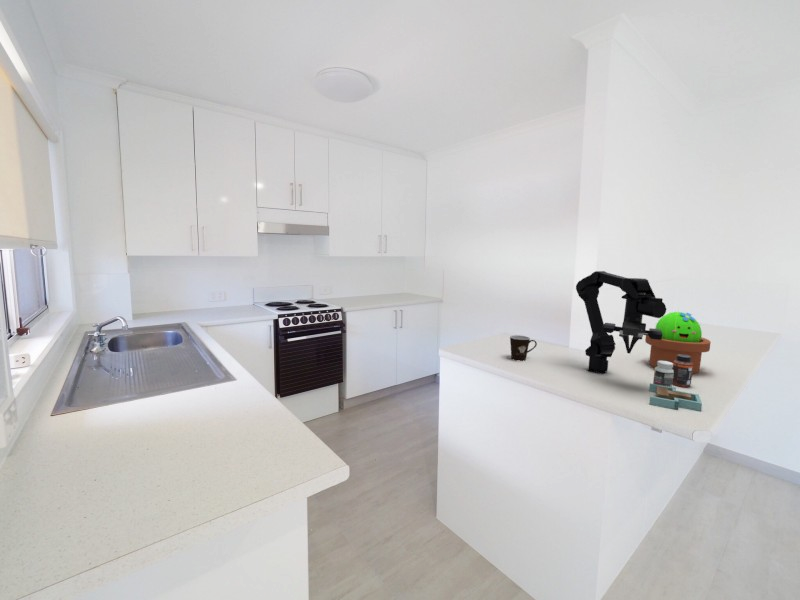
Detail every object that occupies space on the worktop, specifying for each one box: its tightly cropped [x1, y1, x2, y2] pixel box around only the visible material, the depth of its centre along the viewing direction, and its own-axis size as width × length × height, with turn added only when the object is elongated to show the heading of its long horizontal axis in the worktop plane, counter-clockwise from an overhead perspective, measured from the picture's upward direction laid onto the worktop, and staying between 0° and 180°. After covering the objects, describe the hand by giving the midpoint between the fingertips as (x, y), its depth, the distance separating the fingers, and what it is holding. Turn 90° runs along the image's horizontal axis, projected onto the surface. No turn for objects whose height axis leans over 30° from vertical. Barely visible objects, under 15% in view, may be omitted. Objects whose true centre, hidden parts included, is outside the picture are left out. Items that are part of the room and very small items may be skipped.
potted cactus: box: [644, 311, 711, 375], centre depth 158 cm, size 22×22×25 cm
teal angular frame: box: [648, 382, 703, 412], centre depth 123 cm, size 14×15×2 cm
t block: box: [655, 386, 691, 400], centre depth 124 cm, size 9×9×3 cm
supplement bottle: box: [672, 354, 693, 388], centre depth 138 cm, size 6×6×11 cm
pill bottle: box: [652, 361, 674, 387], centre depth 134 cm, size 6×6×10 cm
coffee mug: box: [509, 334, 538, 362], centre depth 169 cm, size 12×9×10 cm
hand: (628, 353), depth 139 cm, fingers closed
